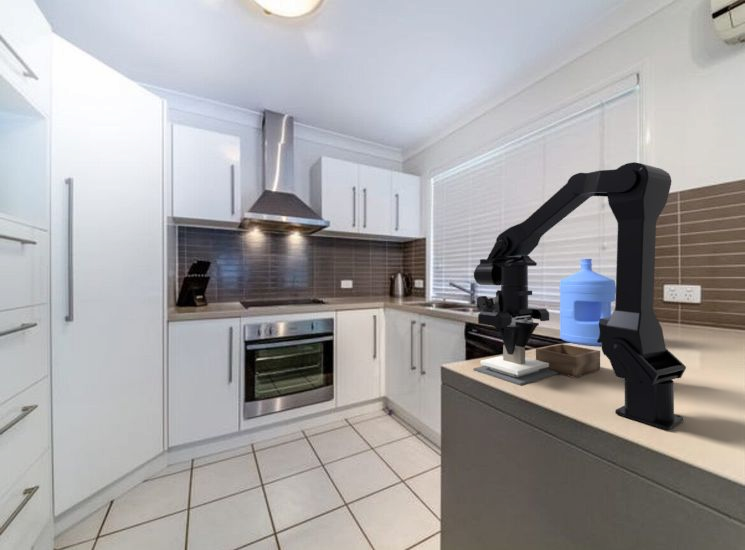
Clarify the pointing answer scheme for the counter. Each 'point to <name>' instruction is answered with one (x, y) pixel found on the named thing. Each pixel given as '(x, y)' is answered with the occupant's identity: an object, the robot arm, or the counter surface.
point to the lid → (514, 363)
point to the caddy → (569, 359)
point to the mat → (521, 379)
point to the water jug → (584, 304)
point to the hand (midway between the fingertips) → (514, 353)
